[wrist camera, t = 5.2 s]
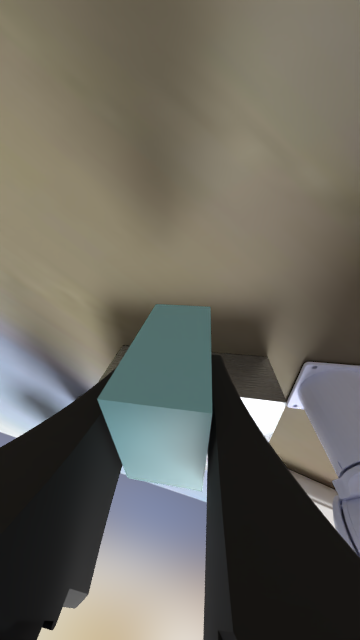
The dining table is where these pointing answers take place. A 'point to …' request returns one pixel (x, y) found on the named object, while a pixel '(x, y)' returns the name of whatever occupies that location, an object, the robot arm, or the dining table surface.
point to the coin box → (246, 387)
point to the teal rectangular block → (164, 398)
